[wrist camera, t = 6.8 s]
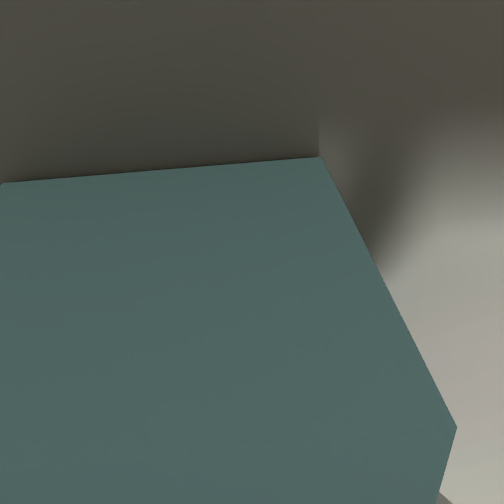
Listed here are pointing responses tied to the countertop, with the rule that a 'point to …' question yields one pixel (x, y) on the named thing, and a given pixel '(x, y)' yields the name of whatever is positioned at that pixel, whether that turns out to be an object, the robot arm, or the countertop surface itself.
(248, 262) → the pale blue tall prism
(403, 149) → the countertop surface
